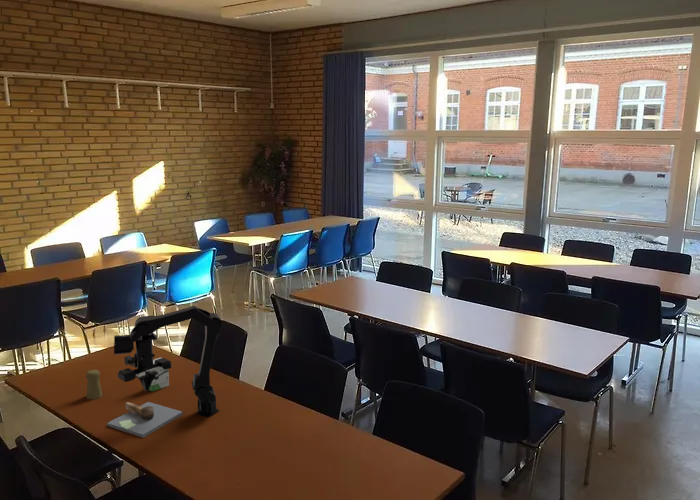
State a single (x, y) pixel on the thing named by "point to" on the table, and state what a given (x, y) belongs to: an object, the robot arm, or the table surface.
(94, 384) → the cork
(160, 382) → the ink box
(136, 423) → the board
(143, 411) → the peg lever
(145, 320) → the robot arm
